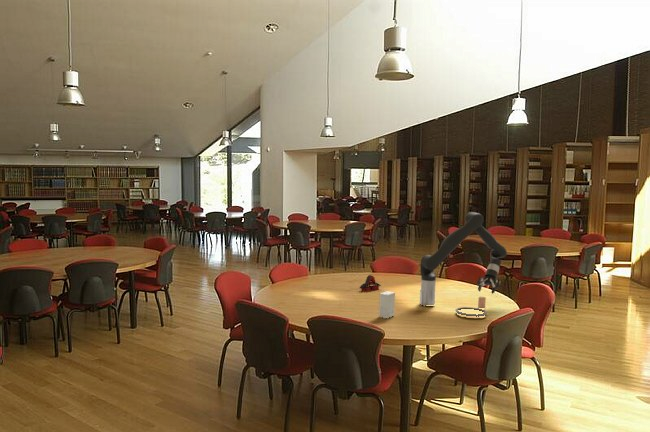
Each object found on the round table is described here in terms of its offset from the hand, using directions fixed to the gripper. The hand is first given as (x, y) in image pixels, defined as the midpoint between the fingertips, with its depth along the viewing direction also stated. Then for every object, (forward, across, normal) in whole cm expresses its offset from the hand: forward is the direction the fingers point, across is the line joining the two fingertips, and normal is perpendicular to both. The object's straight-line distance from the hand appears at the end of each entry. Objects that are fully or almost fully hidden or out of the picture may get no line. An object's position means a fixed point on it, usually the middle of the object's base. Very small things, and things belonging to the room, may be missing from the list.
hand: (485, 291), depth 333 cm
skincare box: (+50, -40, -34) cm, 73 cm away
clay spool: (+12, 0, +3) cm, 13 cm away
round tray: (+23, -1, -8) cm, 25 cm away
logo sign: (+12, -84, +4) cm, 85 cm away
